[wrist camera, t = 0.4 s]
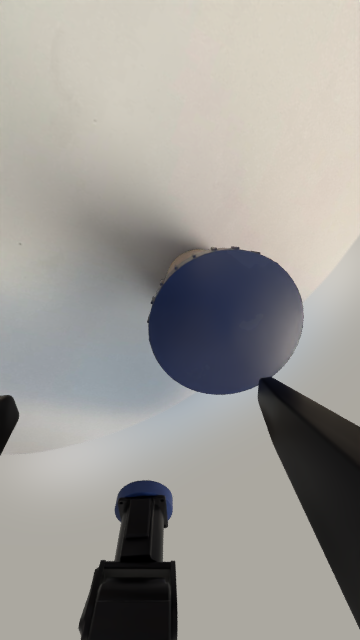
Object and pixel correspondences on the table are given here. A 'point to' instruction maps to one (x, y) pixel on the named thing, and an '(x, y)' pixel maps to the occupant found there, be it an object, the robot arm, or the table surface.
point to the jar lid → (225, 320)
